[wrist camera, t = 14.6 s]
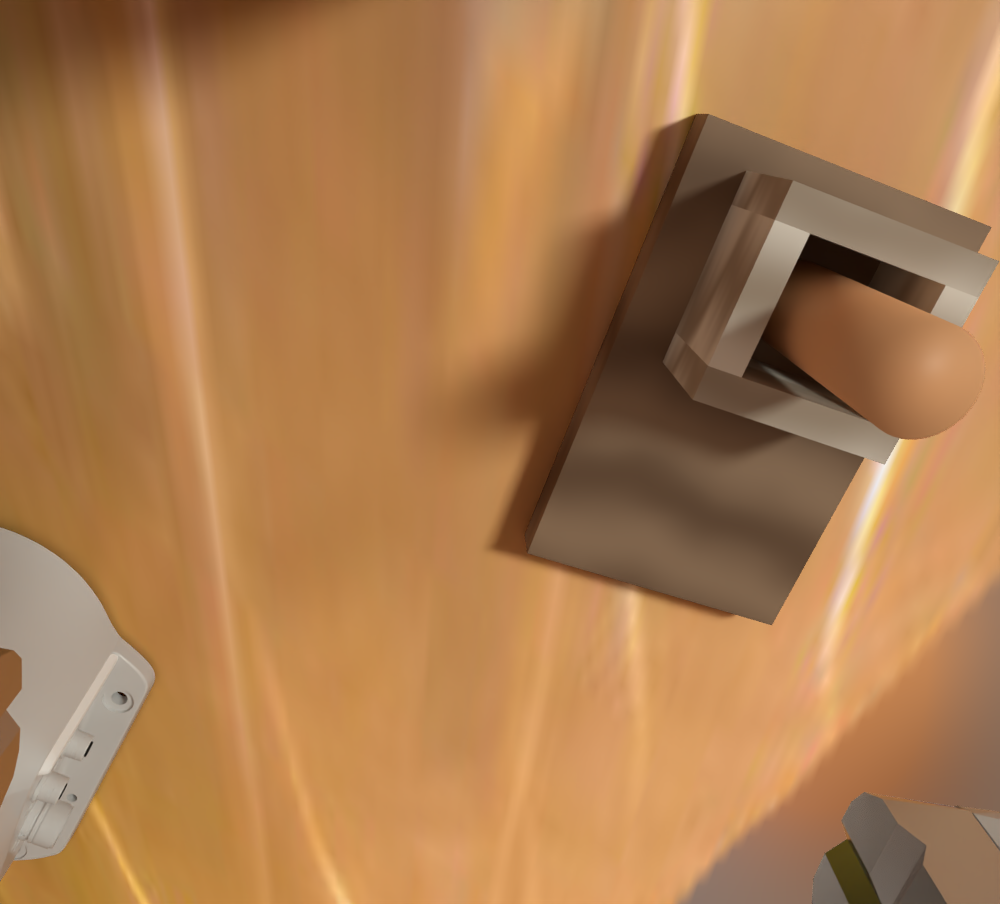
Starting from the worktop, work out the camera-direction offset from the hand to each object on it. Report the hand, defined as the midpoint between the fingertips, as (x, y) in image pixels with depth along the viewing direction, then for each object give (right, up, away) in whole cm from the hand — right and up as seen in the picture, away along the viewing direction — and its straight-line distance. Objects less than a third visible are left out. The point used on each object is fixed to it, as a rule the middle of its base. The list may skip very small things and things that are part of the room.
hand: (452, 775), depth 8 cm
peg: (+14, +10, +30) cm, 35 cm away
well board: (+12, +6, +34) cm, 36 cm away
